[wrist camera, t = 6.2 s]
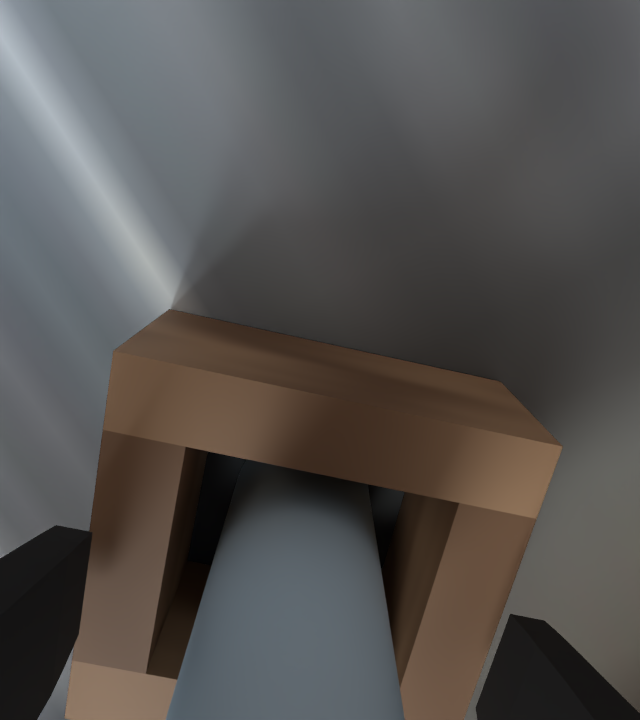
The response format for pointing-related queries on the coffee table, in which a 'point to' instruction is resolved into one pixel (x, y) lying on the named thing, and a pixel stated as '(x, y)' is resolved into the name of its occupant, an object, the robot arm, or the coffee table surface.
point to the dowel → (292, 608)
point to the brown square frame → (311, 454)
